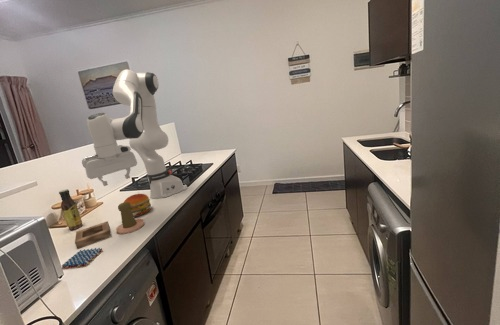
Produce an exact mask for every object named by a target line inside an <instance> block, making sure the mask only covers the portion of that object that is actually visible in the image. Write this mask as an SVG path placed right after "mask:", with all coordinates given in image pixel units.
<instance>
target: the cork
mask: <svg viewBox="0 0 500 325" xmlns="http://www.w3.org/2000/svg"><path fill="white" fill-rule="evenodd" d="M130 207H131V205H130V203H129V202H124V201H123V202H121V203H119V204H118V206H117V210H118V211H119V212H120V217H121V224H122V225H123V228H130V227H133V226H135V225H136V224H137V222H136V220H135V219H136V218H135V216H133V214H132V211H131V209H130Z"/></svg>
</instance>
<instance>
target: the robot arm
mask: <svg viewBox="0 0 500 325" xmlns="http://www.w3.org/2000/svg"><path fill="white" fill-rule="evenodd" d="M158 80H159V79H158V76H157V75H156V74H155V73H153V72H149V71H148V72H136V71H134V70H131V69H127V68H126V69H123V70H121V71H120V72H119V74H118V76H117V77H116V79H115V82H114V84H113V87H112V88H113V89H112V96H113V97H114V99H115V101H117V102H118V103H120V104H121V105H123V106H127V107H129V114H128V115H126V116H124V117H119V118H112V117H109V116H108V115H107V113H106V112H99V113H95V114H92V115H89V116H88V117H87V118H86V124H87V129H88V133H89V136H90V138H91V140H92V142H93V148H94V150H95V154H93V155H90V156H85V157H84V158H82V160H81V164H82V167H83V168H84V170H85V175H86V177H87V178H88V179H90V180H94V179H97V180H99V181H100V182H101V183H102V185H103V187H106V186H108V185H109V184H108V181H107V180H103V176H106V175H110V174H115V173H116V172H119V171H123V170H125V171H126V173H125V174H124V178H125V179H130V178H131V177H130V174H131V168H133V167H136V166H137V165H138V160H137V158H136V155H135V154H134V152H133V151H135V152H136V153H137V154H138V155H139V157H140V158H141V161H143V164H144V168H145V170H146V179H147V180H148V184H149V188H150V189H149V190H150V198H152V199H158V198H159V199H160V198H167V197H170V196H173V195H175V194H177V193H181V192H183V191H186V190H187V189H188V185H187V184H185V185H183V184H184V183H183V181H182V180H181V178H179V177H177V176H175V175H173V171H172V170H170V169H167V168H166V164H165V160H164V158H163V157H162V155H159V153H157V151H158V150H162V149H165V148H166V147H167V146H168V144H169V136H168V135H167V133H166V132H165V131H163V130H162V128H161V127H160V124H159V122H158V114H157V105H156V99H155V96H154V95H155V93H156V92H157V91H158V89H159V81H158ZM128 139H129V140H128ZM124 140H128V141H129V143H128V144H129V145H122V144H119V145H118V143H117V142H118V141H124ZM132 149H133V151H131V150H132Z"/></svg>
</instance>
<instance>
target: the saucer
mask: <svg viewBox="0 0 500 325" xmlns="http://www.w3.org/2000/svg"><path fill="white" fill-rule="evenodd" d="M135 220H136V222H137V224H136V225H135V226H133V227H130V228H123V225H122V223H120V225H118V226H117V227H116V233H117V234H118V235H126V234H131V233H133V232H136V231H139V230H140V229H141V228H143V227H144V225H145V224H144V223H145V220H144V219H142V218H135Z"/></svg>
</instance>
